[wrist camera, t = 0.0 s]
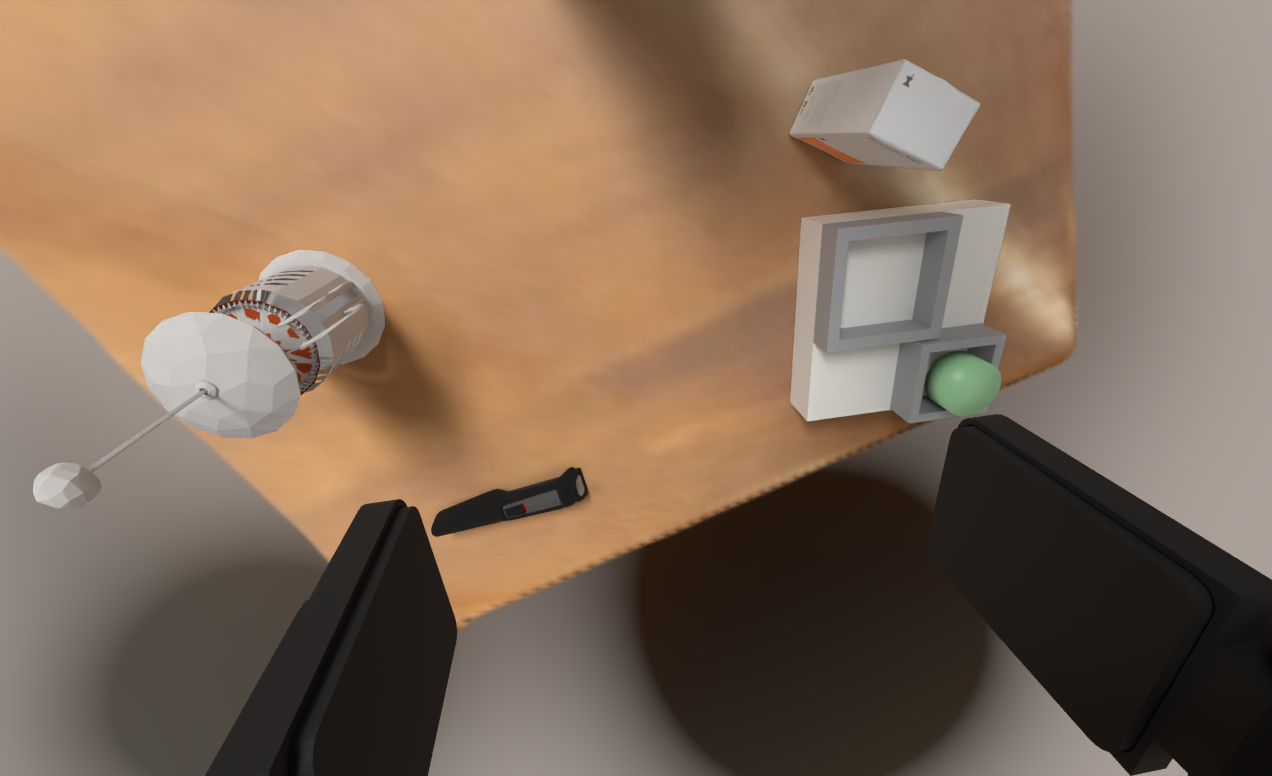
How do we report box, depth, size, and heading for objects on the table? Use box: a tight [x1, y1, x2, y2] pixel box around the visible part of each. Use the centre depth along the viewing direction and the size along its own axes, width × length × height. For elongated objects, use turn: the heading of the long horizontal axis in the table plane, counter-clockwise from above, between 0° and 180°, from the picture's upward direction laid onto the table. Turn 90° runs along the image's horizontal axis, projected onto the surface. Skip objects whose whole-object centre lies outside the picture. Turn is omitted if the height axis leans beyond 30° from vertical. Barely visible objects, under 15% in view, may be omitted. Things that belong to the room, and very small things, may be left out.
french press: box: [33, 250, 385, 509], centre depth 31 cm, size 10×12×25 cm
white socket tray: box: [790, 199, 1011, 424], centre depth 45 cm, size 18×16×7 cm
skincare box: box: [789, 59, 980, 171], centre depth 36 cm, size 6×4×12 cm
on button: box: [924, 351, 1001, 416], centre depth 44 cm, size 5×5×3 cm
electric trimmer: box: [431, 467, 587, 537], centre depth 51 cm, size 4×16×3 cm, turn 103°
